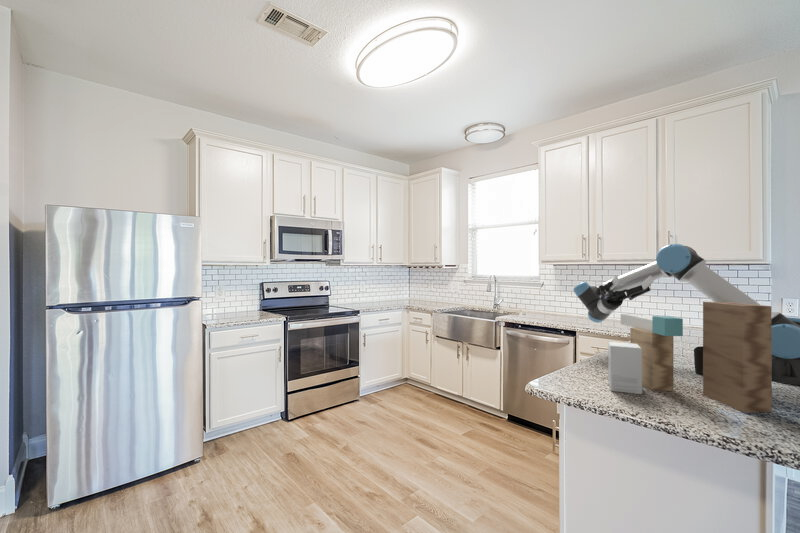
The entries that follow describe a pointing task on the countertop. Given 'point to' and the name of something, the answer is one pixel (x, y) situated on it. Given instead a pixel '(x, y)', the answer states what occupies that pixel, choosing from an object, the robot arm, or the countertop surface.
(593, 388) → the countertop surface
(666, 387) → the wooden block
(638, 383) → the supplement box
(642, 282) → the robot arm
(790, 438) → the countertop surface
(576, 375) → the countertop surface
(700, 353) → the pen holder
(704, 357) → the tall block
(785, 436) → the countertop surface
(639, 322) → the teal and white bar
